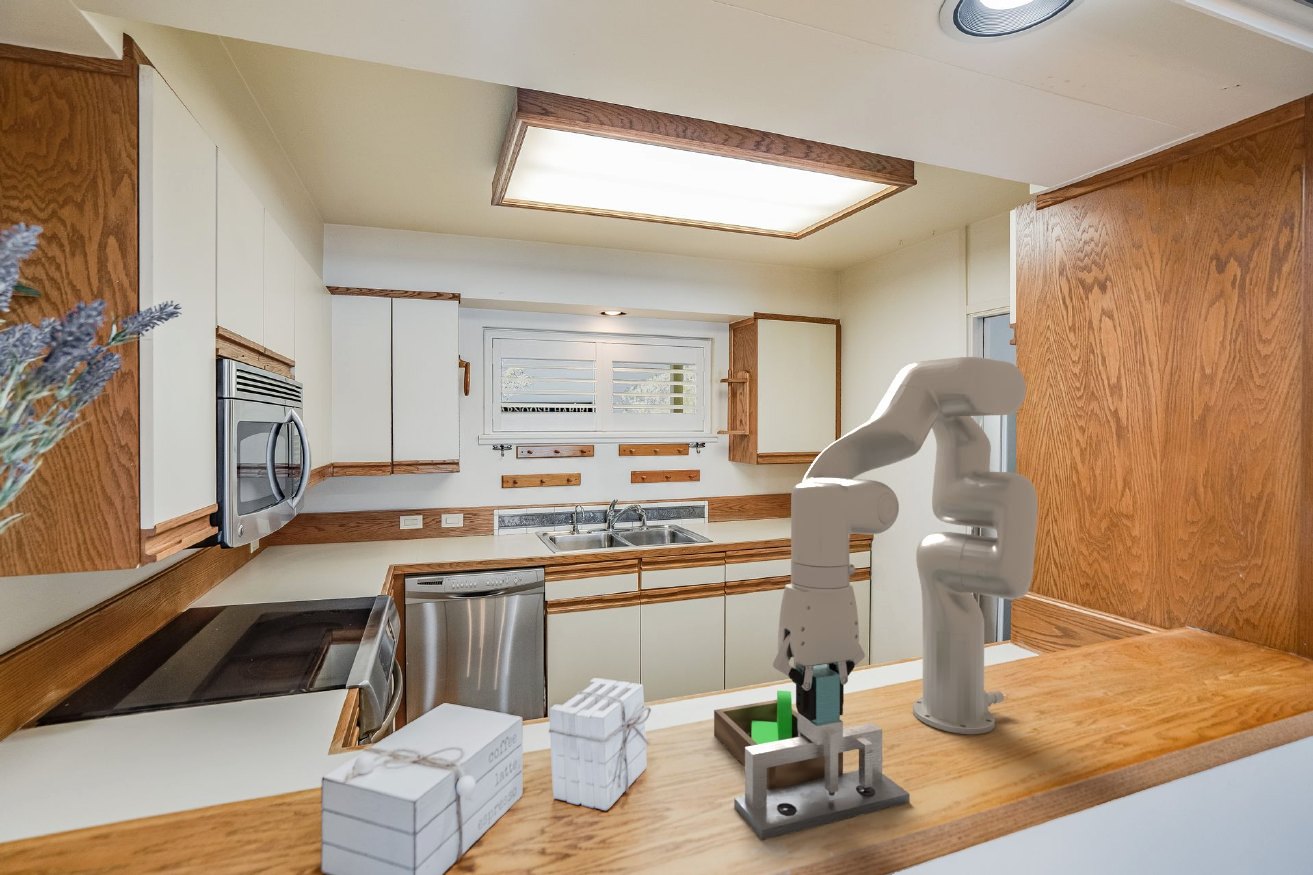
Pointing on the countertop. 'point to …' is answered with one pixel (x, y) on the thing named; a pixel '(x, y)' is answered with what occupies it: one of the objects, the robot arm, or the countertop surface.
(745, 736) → the parts tray
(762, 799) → the metal bridge frame
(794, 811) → the bolt plate
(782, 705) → the mechanical part
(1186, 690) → the countertop surface
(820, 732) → the sliding leg
